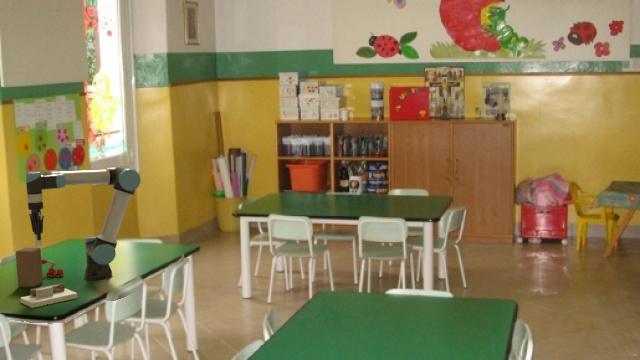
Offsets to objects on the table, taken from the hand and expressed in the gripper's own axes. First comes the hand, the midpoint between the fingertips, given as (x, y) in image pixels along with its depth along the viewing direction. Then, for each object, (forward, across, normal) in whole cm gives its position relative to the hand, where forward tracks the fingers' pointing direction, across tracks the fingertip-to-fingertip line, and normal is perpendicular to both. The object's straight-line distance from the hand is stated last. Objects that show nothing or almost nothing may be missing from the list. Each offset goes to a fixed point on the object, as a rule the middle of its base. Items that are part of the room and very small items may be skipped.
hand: (38, 245), depth 452 cm
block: (+25, -17, +1) cm, 30 cm away
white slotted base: (+24, +20, -5) cm, 32 cm away
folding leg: (+22, +15, -3) cm, 27 cm away
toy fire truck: (+25, -27, +18) cm, 41 cm away
